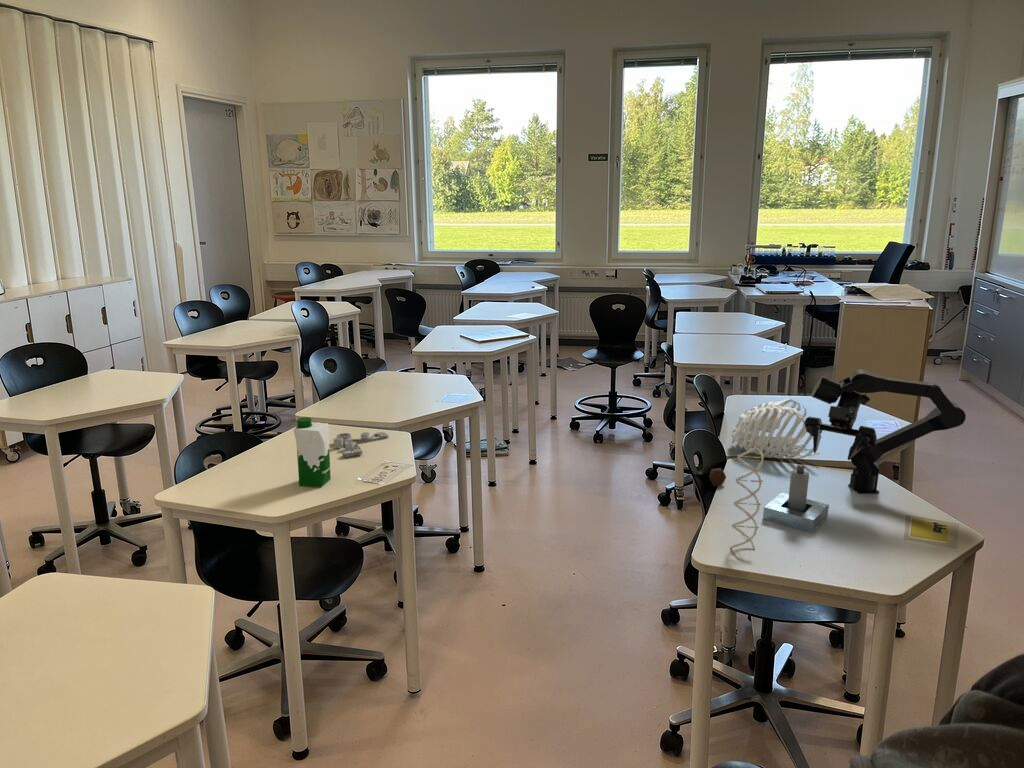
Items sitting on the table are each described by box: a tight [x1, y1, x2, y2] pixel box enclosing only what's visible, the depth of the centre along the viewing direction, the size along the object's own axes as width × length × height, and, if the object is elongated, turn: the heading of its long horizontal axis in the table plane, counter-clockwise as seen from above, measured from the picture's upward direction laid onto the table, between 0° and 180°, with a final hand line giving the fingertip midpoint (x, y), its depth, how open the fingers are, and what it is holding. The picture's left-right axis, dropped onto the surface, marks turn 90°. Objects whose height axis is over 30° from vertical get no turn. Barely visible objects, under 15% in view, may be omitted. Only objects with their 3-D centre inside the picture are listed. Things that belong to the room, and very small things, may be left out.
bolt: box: [709, 467, 727, 487], centre depth 227 cm, size 6×5×15 cm
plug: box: [788, 464, 810, 513], centre depth 196 cm, size 4×4×15 cm
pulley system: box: [333, 431, 389, 458], centre depth 255 cm, size 27×5×15 cm
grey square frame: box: [762, 492, 830, 534], centre depth 197 cm, size 13×13×4 cm
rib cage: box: [730, 398, 820, 460], centre depth 248 cm, size 26×18×28 cm
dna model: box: [729, 433, 767, 550], centre depth 176 cm, size 7×6×30 cm
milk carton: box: [293, 417, 331, 488], centre depth 219 cm, size 9×9×20 cm
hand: (831, 455), depth 206 cm, fingers open, 9 cm apart
